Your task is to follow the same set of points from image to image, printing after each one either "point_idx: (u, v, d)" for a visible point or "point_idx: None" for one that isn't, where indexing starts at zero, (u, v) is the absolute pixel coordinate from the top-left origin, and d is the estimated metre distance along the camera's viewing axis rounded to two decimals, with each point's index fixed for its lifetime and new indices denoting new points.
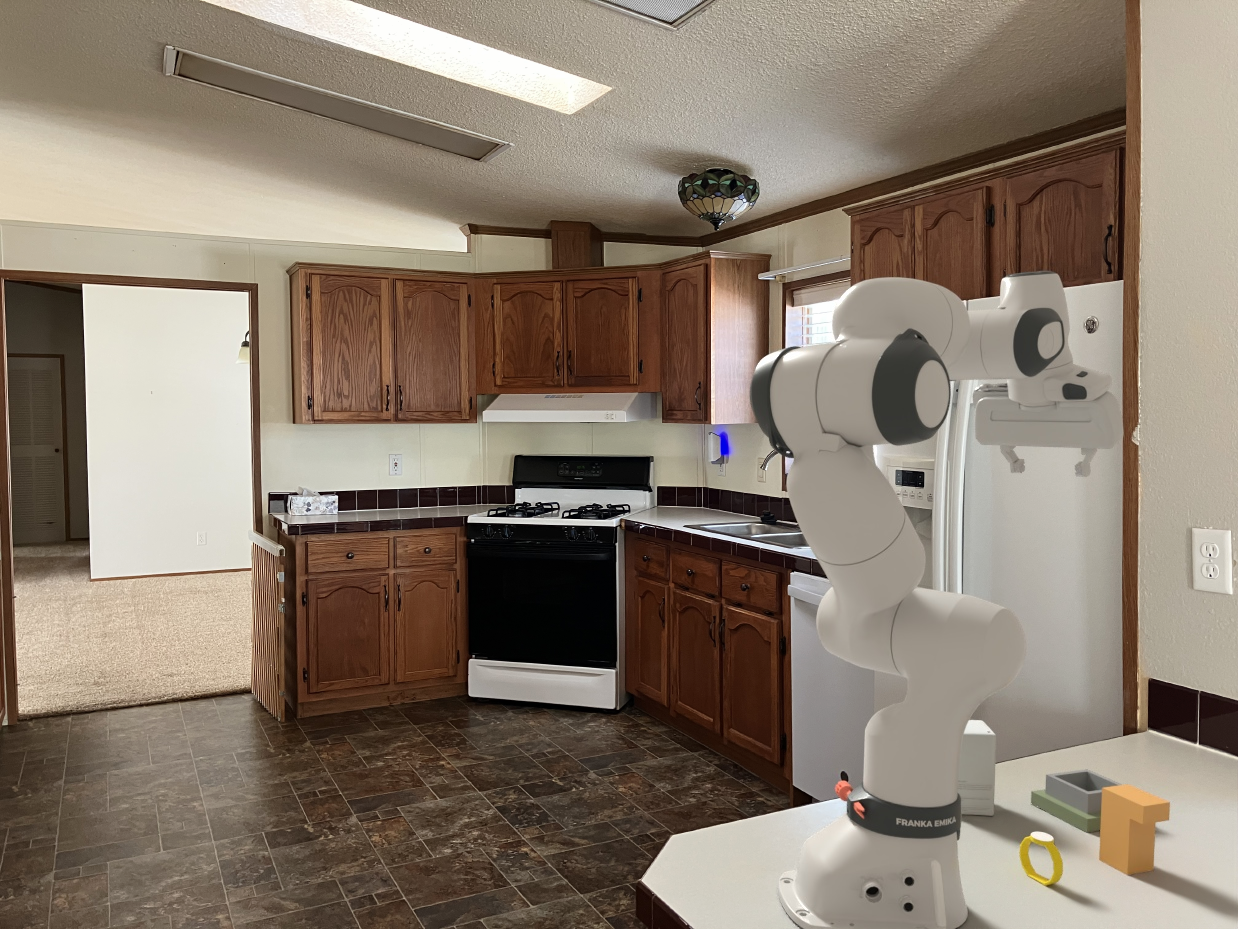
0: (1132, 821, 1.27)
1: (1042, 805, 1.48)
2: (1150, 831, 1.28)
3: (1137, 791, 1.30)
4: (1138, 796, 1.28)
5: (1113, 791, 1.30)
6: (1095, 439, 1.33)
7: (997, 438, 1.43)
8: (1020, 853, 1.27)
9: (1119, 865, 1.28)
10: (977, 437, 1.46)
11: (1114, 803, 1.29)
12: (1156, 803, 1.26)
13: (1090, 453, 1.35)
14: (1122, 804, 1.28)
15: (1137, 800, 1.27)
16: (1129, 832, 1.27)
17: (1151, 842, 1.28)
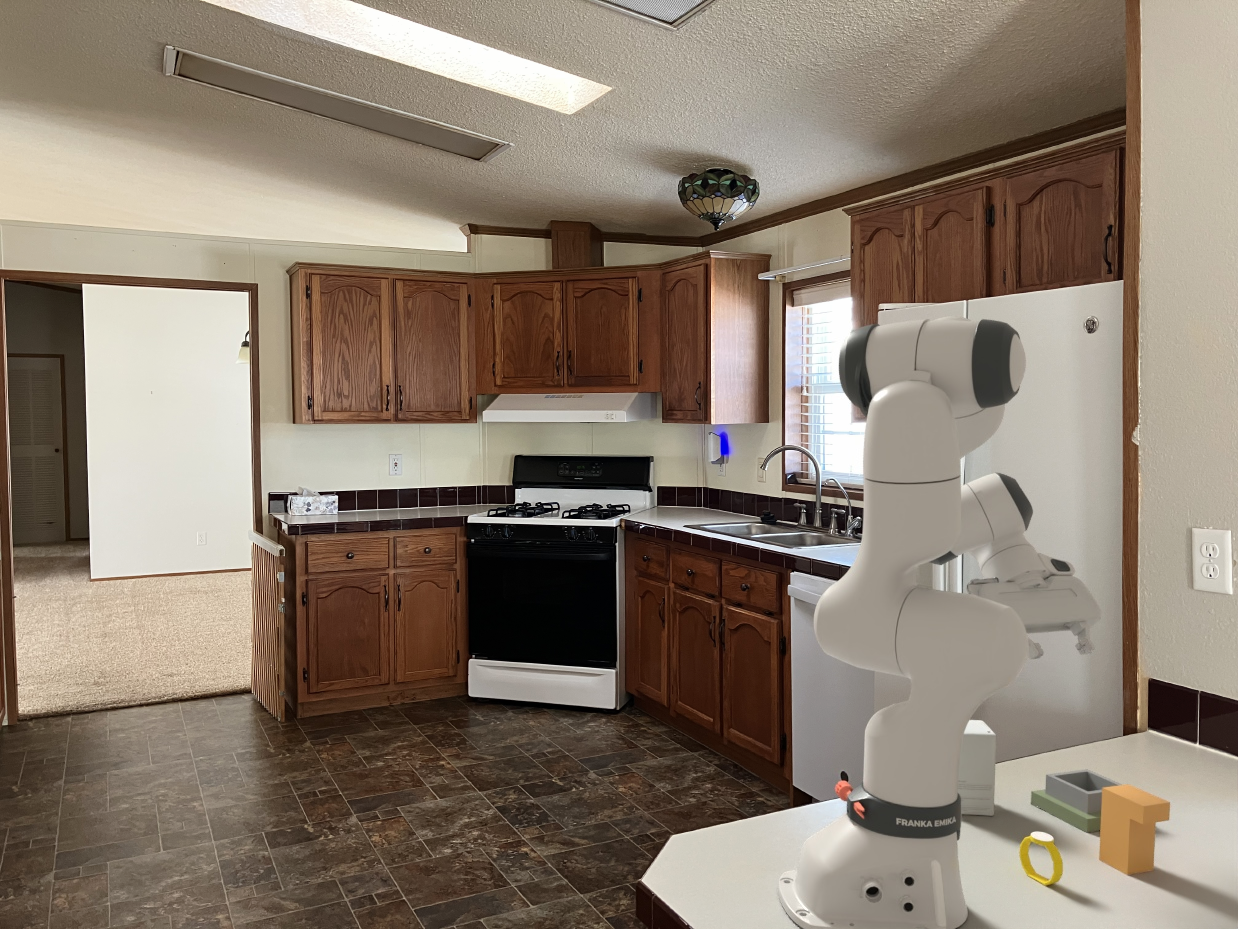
0: (1132, 821, 1.27)
1: (1042, 805, 1.48)
2: (1150, 831, 1.28)
3: (1137, 791, 1.30)
4: (1138, 796, 1.28)
5: (1113, 791, 1.30)
6: (1088, 609, 1.46)
7: None
8: (1020, 853, 1.27)
9: (1119, 865, 1.28)
10: None
11: (1114, 803, 1.29)
12: (1156, 803, 1.26)
13: (1087, 626, 1.44)
14: (1122, 804, 1.28)
15: (1137, 800, 1.27)
16: (1129, 832, 1.27)
17: (1151, 842, 1.28)
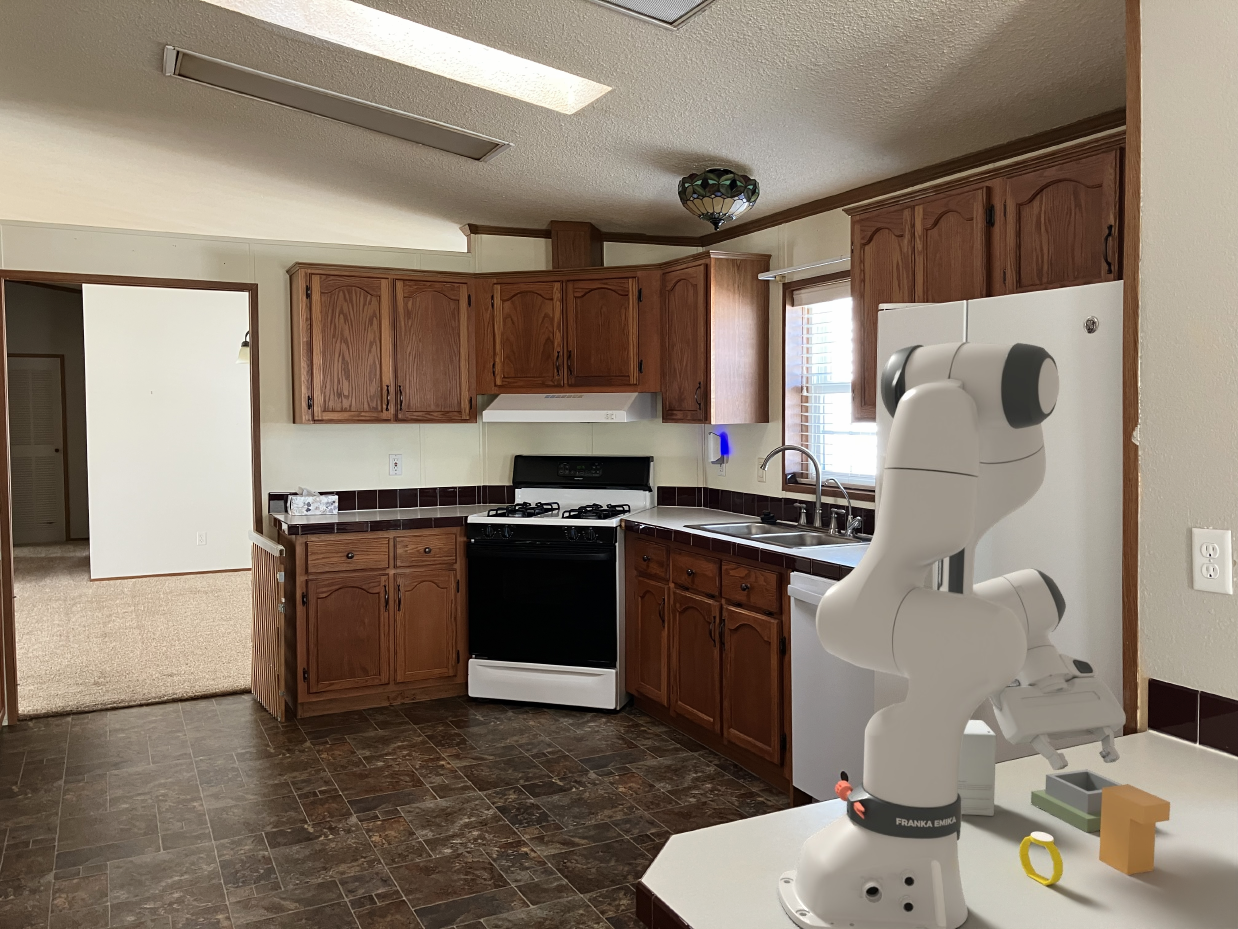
0: (1132, 821, 1.27)
1: (1042, 805, 1.48)
2: (1150, 831, 1.28)
3: (1137, 791, 1.30)
4: (1138, 796, 1.28)
5: (1113, 791, 1.30)
6: (1112, 714, 1.41)
7: (1037, 724, 1.36)
8: (1020, 853, 1.27)
9: (1119, 865, 1.28)
10: (1020, 726, 1.35)
11: (1114, 803, 1.29)
12: (1156, 803, 1.26)
13: (1112, 732, 1.40)
14: (1122, 804, 1.28)
15: (1137, 800, 1.27)
16: (1129, 832, 1.27)
17: (1151, 842, 1.28)
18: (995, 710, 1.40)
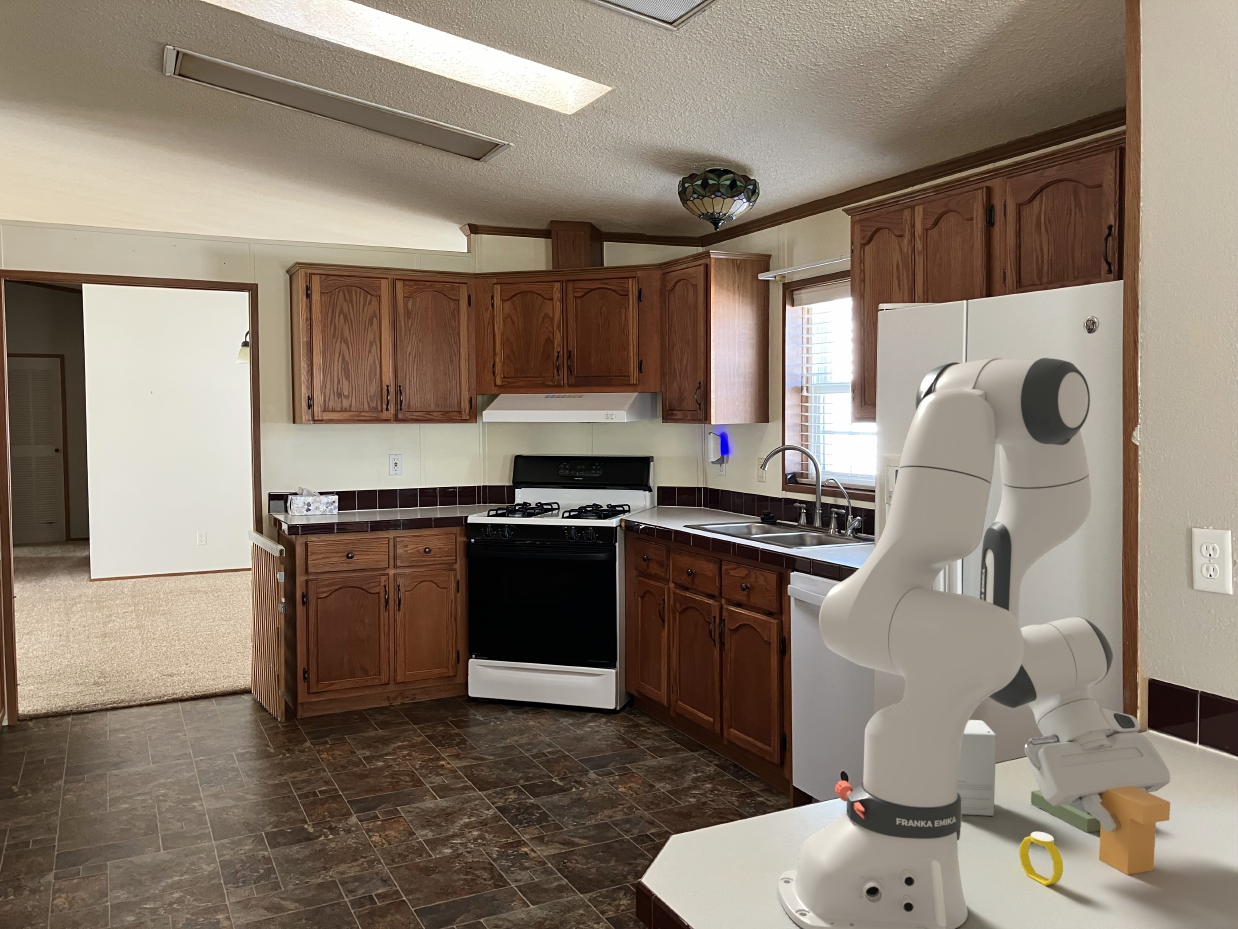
0: (1132, 821, 1.27)
1: (1042, 805, 1.48)
2: (1150, 831, 1.28)
3: (1137, 791, 1.30)
4: (1138, 796, 1.28)
5: (1113, 791, 1.30)
6: (1156, 772, 1.34)
7: (1078, 784, 1.29)
8: (1020, 853, 1.27)
9: (1119, 865, 1.28)
10: (1060, 787, 1.28)
11: (1114, 803, 1.29)
12: (1156, 803, 1.26)
13: None
14: (1122, 804, 1.28)
15: (1137, 800, 1.27)
16: (1129, 832, 1.27)
17: (1151, 841, 1.28)
18: (1033, 768, 1.33)
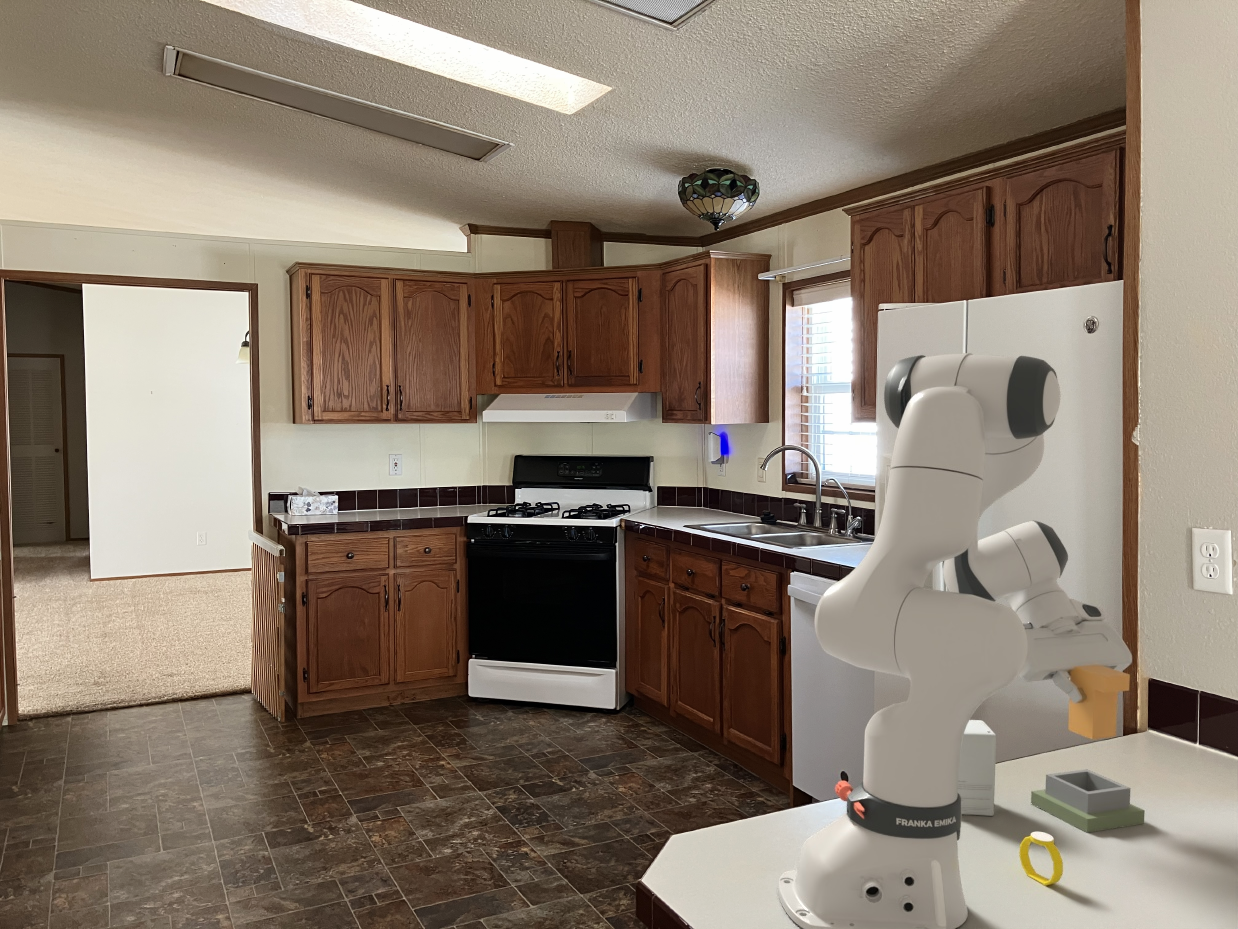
0: (1096, 692, 1.43)
1: (1042, 805, 1.48)
2: (1113, 701, 1.44)
3: (1101, 667, 1.46)
4: (1102, 671, 1.44)
5: (1080, 667, 1.46)
6: (1119, 654, 1.51)
7: (1049, 662, 1.46)
8: (1020, 853, 1.27)
9: (1085, 732, 1.45)
10: (1033, 663, 1.45)
11: (1081, 677, 1.45)
12: (1117, 675, 1.42)
13: None
14: (1088, 677, 1.44)
15: (1101, 673, 1.43)
16: (1093, 701, 1.43)
17: (1113, 711, 1.45)
18: None
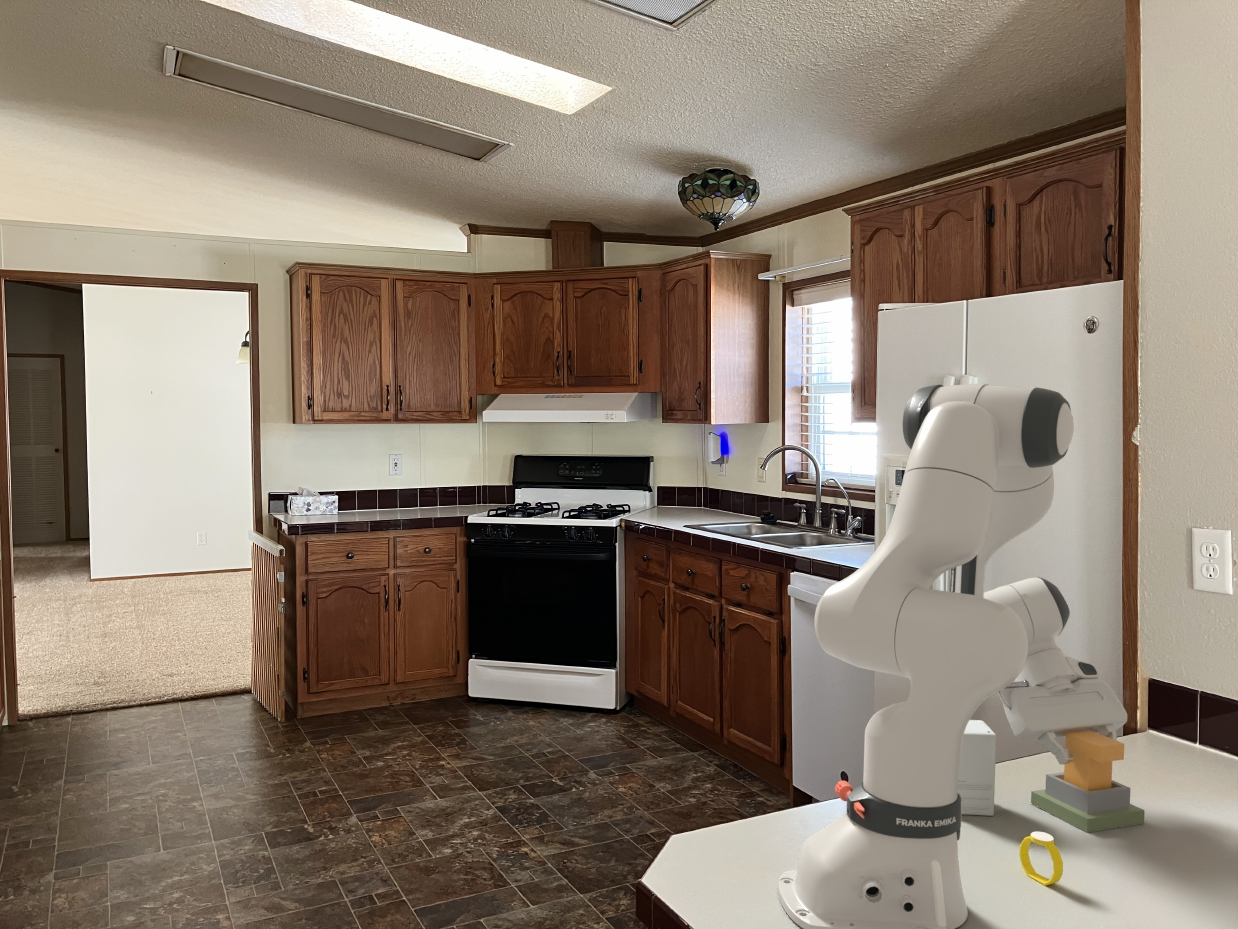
0: (1091, 760, 1.44)
1: (1042, 805, 1.48)
2: (1107, 770, 1.45)
3: (1096, 735, 1.47)
4: (1096, 739, 1.45)
5: (1075, 735, 1.47)
6: (1114, 713, 1.51)
7: (1045, 721, 1.46)
8: (1020, 853, 1.27)
9: None
10: (1029, 723, 1.45)
11: (1076, 745, 1.46)
12: (1112, 744, 1.43)
13: (1114, 730, 1.50)
14: (1082, 746, 1.45)
15: (1096, 742, 1.44)
16: (1088, 770, 1.44)
17: (1108, 779, 1.45)
18: (1005, 709, 1.50)
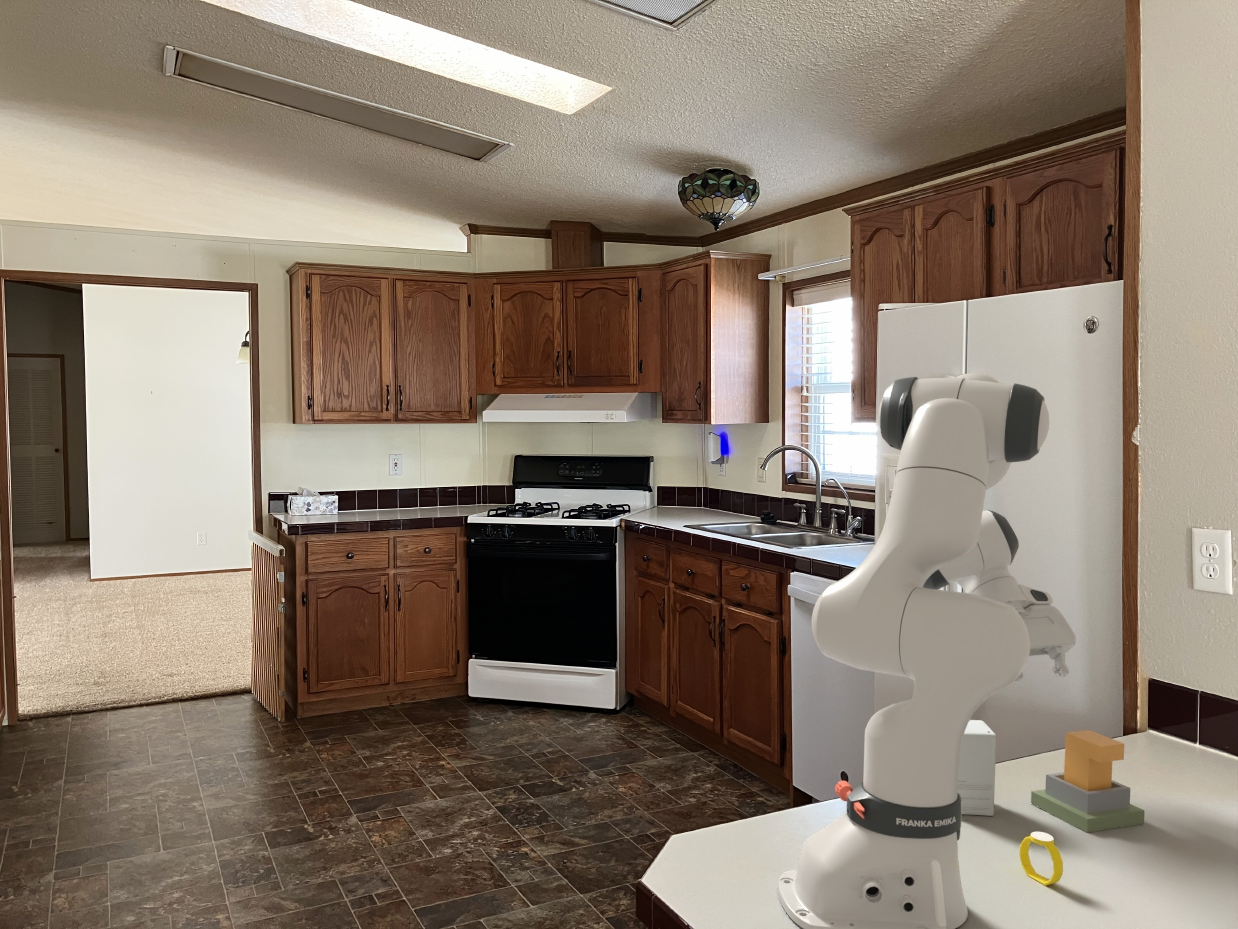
0: (1091, 760, 1.44)
1: (1042, 805, 1.48)
2: (1107, 770, 1.45)
3: (1096, 735, 1.47)
4: (1096, 739, 1.45)
5: (1075, 735, 1.47)
6: (1064, 636, 1.61)
7: None
8: (1020, 853, 1.27)
9: None
10: None
11: (1076, 745, 1.46)
12: (1112, 744, 1.43)
13: (1063, 651, 1.60)
14: (1082, 746, 1.45)
15: (1096, 742, 1.44)
16: (1088, 770, 1.44)
17: (1108, 779, 1.45)
18: None
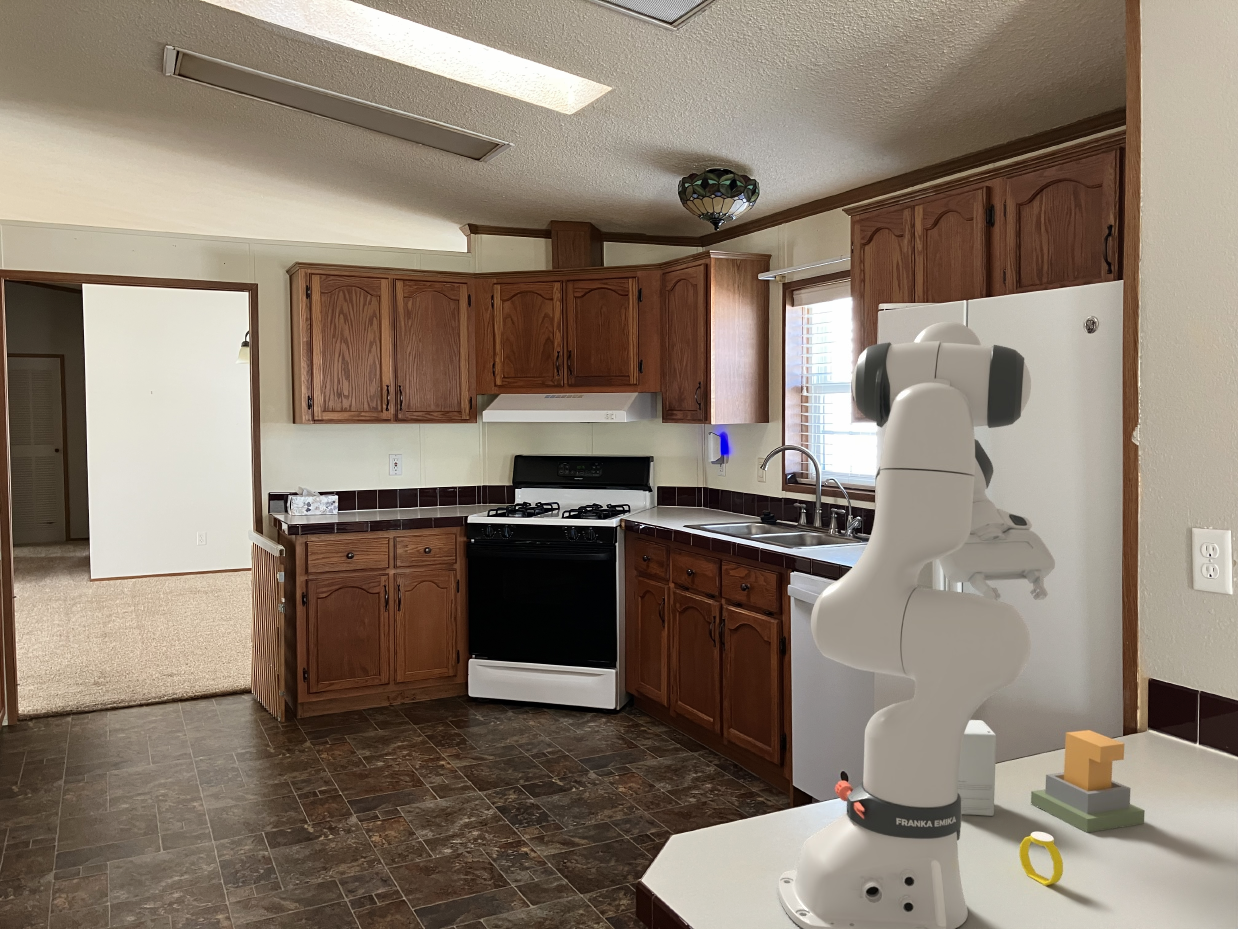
0: (1091, 760, 1.44)
1: (1042, 805, 1.48)
2: (1107, 770, 1.45)
3: (1096, 735, 1.47)
4: (1096, 739, 1.45)
5: (1075, 735, 1.47)
6: (1042, 559, 1.59)
7: (974, 563, 1.54)
8: (1020, 853, 1.27)
9: None
10: (958, 564, 1.53)
11: (1076, 745, 1.46)
12: (1112, 744, 1.43)
13: (1042, 574, 1.58)
14: (1082, 746, 1.45)
15: (1096, 742, 1.44)
16: (1088, 770, 1.44)
17: (1108, 779, 1.45)
18: None
